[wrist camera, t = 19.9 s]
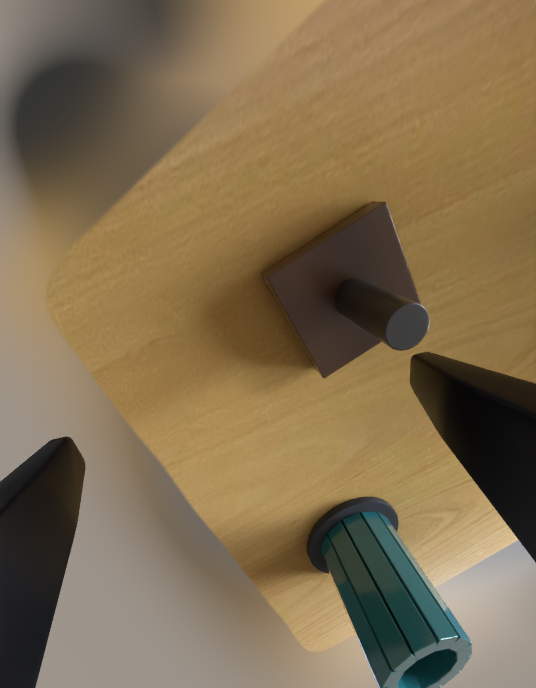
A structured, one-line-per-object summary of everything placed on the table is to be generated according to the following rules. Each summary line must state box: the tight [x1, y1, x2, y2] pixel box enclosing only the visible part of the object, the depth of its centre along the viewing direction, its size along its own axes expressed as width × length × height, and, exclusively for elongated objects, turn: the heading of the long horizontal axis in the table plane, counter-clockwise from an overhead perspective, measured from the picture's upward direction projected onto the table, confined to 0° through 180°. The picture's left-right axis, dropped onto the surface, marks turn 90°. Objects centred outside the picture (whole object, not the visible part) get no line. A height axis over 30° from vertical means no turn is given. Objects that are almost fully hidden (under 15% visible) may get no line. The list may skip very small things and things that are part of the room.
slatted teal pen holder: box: [321, 511, 472, 688], centre depth 27 cm, size 7×7×10 cm
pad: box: [307, 497, 398, 573], centre depth 32 cm, size 9×9×1 cm
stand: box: [261, 202, 429, 378], centre depth 19 cm, size 8×8×7 cm
